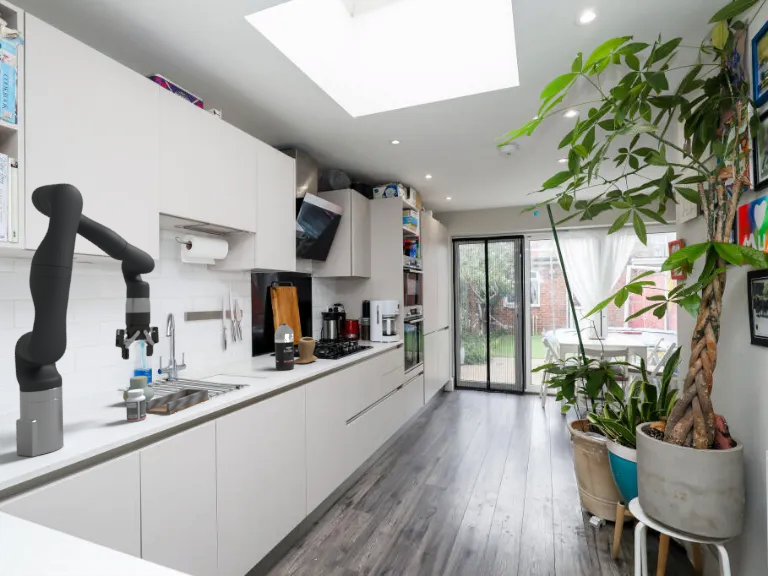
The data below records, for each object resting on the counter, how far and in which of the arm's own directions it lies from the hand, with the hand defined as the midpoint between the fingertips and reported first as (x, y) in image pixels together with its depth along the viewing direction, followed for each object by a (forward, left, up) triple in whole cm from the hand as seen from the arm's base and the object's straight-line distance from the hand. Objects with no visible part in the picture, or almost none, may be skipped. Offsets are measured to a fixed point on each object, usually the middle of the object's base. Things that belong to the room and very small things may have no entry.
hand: (137, 357), depth 144 cm
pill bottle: (-2, -1, -21) cm, 21 cm away
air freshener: (+16, +17, -21) cm, 31 cm away
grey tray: (+15, -3, -21) cm, 26 cm away
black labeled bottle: (+88, -7, -21) cm, 91 cm away
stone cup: (+109, -10, -21) cm, 111 cm away
